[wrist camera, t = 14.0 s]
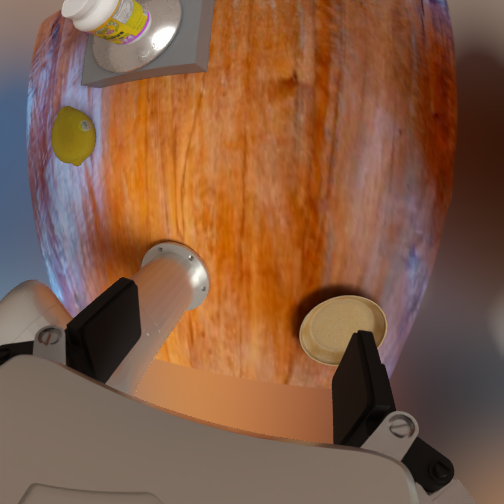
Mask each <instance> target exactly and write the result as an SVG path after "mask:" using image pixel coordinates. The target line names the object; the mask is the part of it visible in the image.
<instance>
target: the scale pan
mask: <svg viewBox="0 0 504 504" xmlns="http://www.w3.org/2000/svg"><path fill="white" fill-rule="evenodd" d="M134 1H136V2H137V3H139V4H140V5H142V6H143V7H145V8H146V9H147V10H148V11H149V12H150V15H151V23H150V26H149V28H148V30H147V32H146V33H145V34H144V35H143V36H142V37H141V38H140V39H139V40H137V41H136V42H134V43H132V44H129V45H118V44H115V43H113V42H110V41H108V40H105V39H102V38H100V37H97V36H94V39H93V53H94V57H95V59H96V61H97V63H98V64H99V65H100V66H101V67H102V68H104V69H106V70H108V71H111V72H115V73H129V72H133V71H136V70H139V69H141V68H143V67H145V66H147V65H149V64H150V63H152V62H153V61H154V60H156V59H157V58H158V57H159V56H161V55H162V54H163V53H164V52H165V51H166V49H167V48H168V47H169V46H170V45H171V43H172V42H173V41H174V39H175V37H176V36H177V34H178V32H179V29H180V27H181V24H182V19H183V8H182V5H181V2H180V0H134Z"/></svg>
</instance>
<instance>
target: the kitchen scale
mask: <svg viewBox="0 0 504 504" xmlns="http://www.w3.org/2000/svg"><path fill="white" fill-rule="evenodd" d="M180 2H181V5H182V8H183V19H182V24H181V27H180V29H179V32H178V34H177V36H176V37H175V39H174V41H173V42H172V43H171V45H170V46H169V47H168V48H167V49H166V51H165V52H164V53H163V54H162V55H161V56H159V57H158V58H157V59H156V60H154V61H153V62H152V63H150V64H149V65H147V66H145V67H143V68H141V69H139V70H136V71H133V72H129V73H115V72H111V71H108V70H106V69H104V68H102V67H101V66H100V65H99V64H98V63H97V61H96V59H95V57H94V53H93V39H94V35H92V34H89V35H88V41H87V46H86V52H85V58H84V65H83V73H82V81H81V85H84V86H90V87H97V88H101V87H106V86H110V85H115V84H119V83H124V82H129V81H135V80H140V79H146V78H153V77H159V76H167V75H175V74H185V73H196V72H207V70H208V58H209V48H210V38H211V28H212V19H213V11H214V3H215V0H180Z"/></svg>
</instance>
